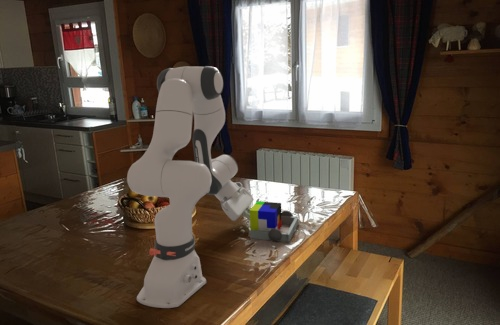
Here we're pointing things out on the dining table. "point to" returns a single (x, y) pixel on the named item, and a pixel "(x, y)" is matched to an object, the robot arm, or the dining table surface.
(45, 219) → the dining table surface
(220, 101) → the robot arm
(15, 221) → the dining table surface
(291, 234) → the tray
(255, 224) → the puzzle toy
